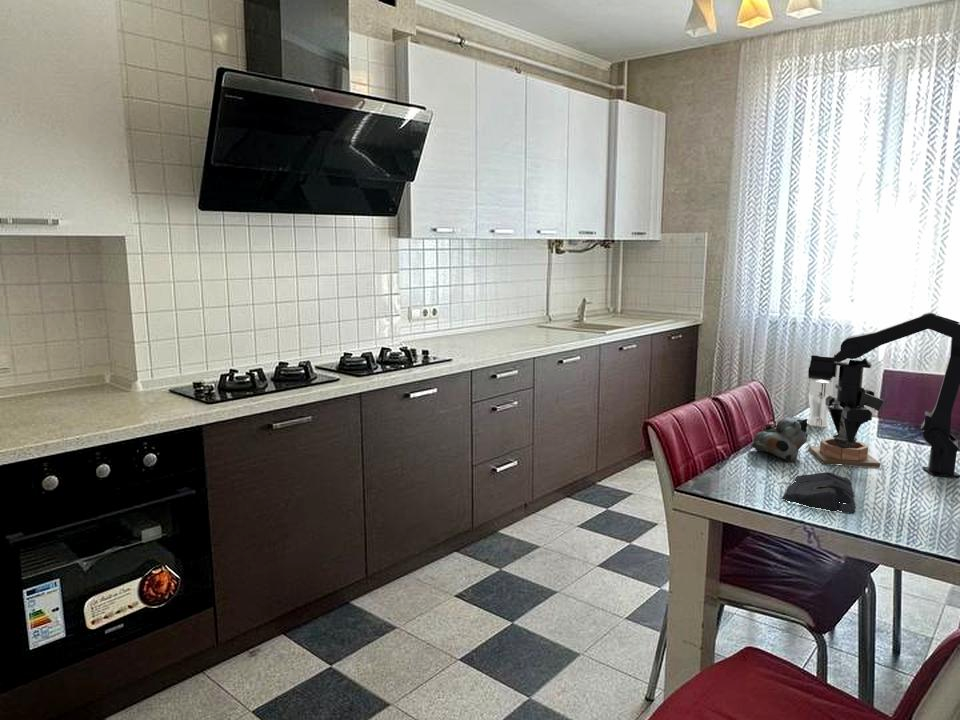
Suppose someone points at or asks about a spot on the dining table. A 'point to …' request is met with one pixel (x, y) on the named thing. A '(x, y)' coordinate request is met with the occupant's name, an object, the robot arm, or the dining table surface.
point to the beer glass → (819, 402)
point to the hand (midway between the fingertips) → (844, 438)
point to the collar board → (843, 454)
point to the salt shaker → (843, 437)
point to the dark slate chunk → (822, 492)
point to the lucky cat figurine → (783, 438)
